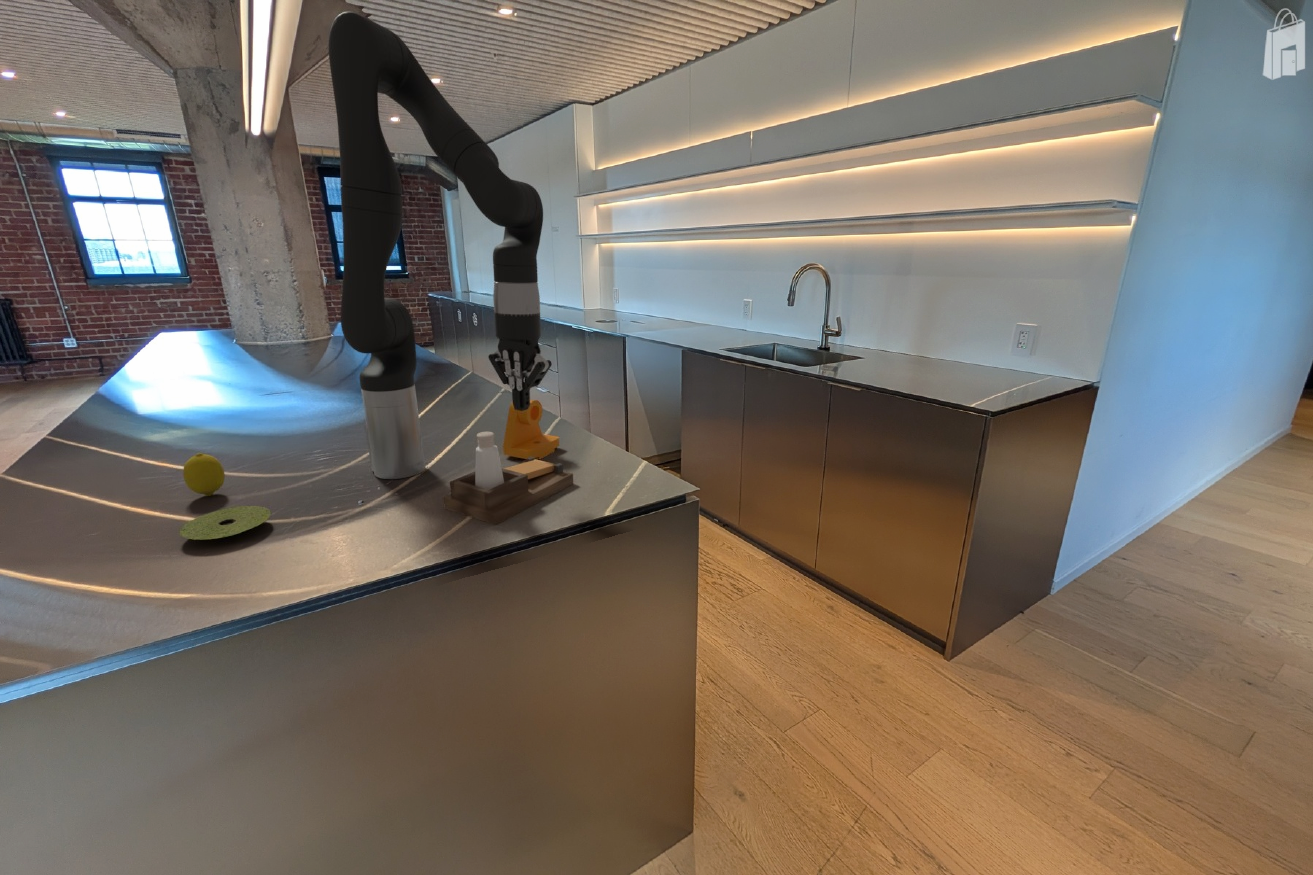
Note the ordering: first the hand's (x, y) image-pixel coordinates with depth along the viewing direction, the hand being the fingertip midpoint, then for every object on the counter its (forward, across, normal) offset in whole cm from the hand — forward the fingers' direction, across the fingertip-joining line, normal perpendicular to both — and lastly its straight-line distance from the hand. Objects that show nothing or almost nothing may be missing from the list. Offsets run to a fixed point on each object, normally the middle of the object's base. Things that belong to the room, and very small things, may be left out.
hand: (521, 409), depth 99 cm
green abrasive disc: (+16, +26, +37) cm, 48 cm away
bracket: (+16, +12, -15) cm, 25 cm away
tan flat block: (+13, 0, -1) cm, 13 cm away
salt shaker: (+13, 0, +9) cm, 16 cm away
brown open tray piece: (+15, 0, +4) cm, 16 cm away
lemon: (+16, +44, +32) cm, 57 cm away
